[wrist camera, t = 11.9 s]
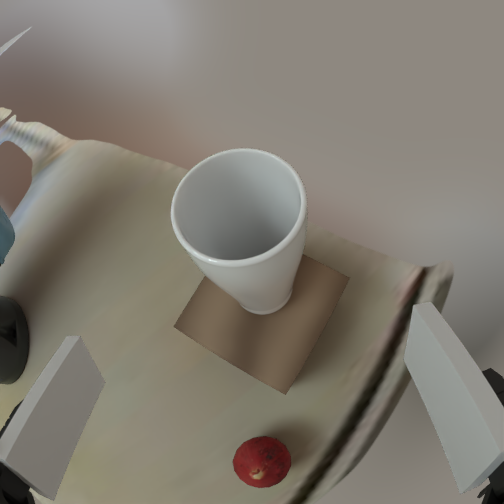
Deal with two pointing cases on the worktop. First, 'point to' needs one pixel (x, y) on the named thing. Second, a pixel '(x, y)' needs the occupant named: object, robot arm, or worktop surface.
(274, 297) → the white tumbler
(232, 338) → the walnut stand
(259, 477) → the onion
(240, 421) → the worktop surface
